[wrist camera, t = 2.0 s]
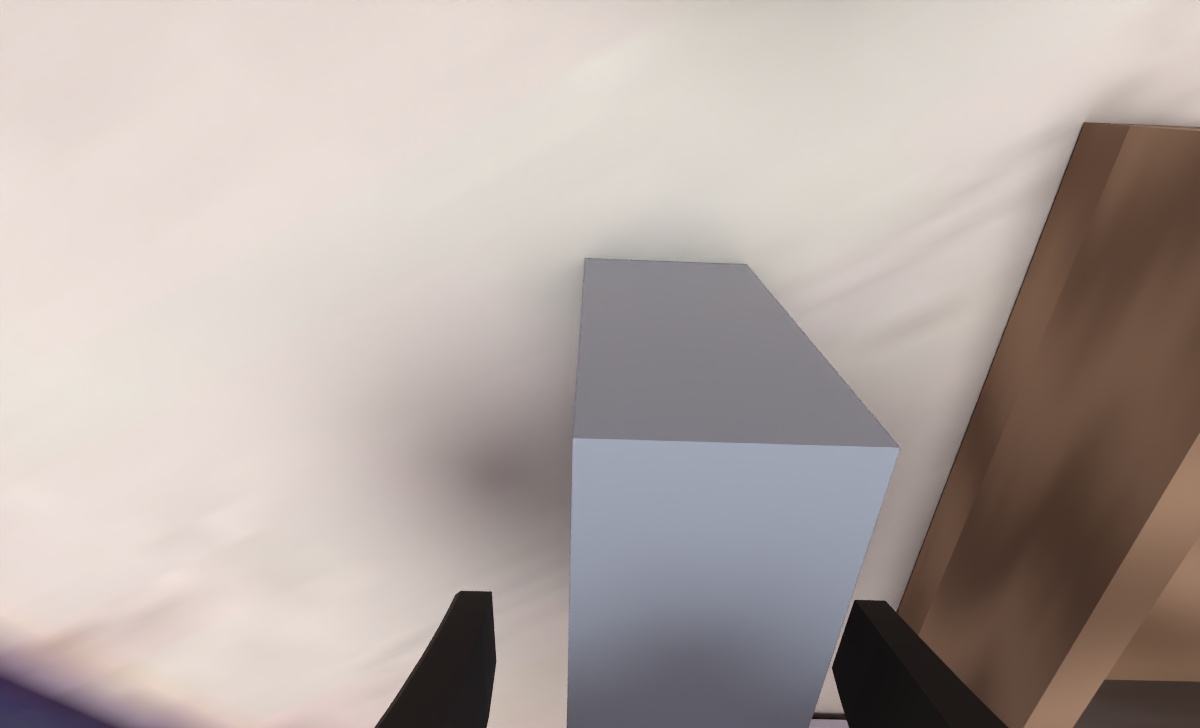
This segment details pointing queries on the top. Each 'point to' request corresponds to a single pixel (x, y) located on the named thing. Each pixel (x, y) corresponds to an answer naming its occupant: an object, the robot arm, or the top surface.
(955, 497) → the shelf
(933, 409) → the top surface
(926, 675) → the robot arm
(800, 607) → the grey rectangular block
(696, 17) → the top surface
